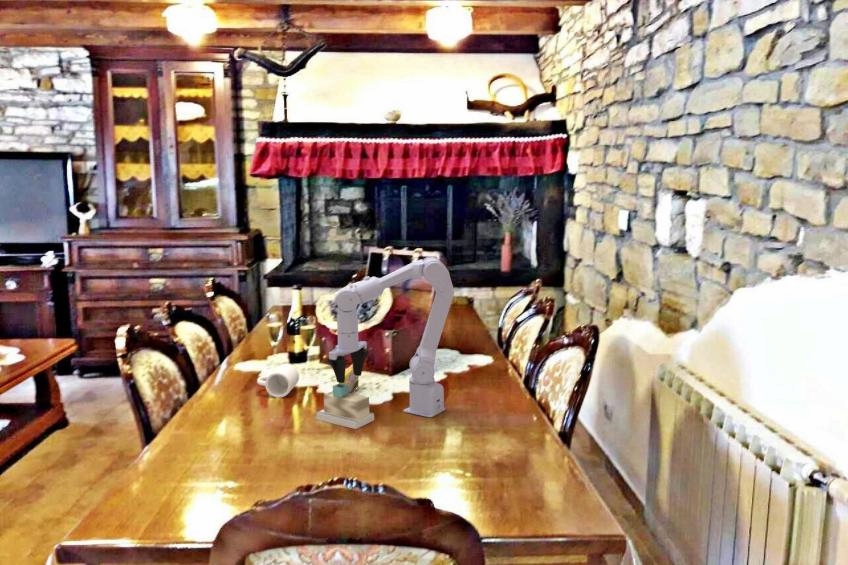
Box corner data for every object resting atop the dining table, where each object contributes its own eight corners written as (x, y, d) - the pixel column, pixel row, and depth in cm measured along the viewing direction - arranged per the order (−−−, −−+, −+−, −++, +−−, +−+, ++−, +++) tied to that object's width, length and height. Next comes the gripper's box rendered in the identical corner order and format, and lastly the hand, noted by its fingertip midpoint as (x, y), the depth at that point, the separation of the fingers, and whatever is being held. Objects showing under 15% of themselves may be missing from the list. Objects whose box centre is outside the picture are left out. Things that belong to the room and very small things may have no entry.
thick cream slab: (369, 414, 195) (369, 397, 195) (358, 420, 191) (357, 402, 190) (336, 406, 202) (335, 390, 201) (324, 412, 198) (323, 394, 197)
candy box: (345, 404, 211) (344, 377, 209) (338, 403, 211) (337, 376, 210) (359, 387, 226) (358, 362, 225) (353, 387, 227) (352, 362, 226)
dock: (374, 420, 197) (373, 413, 196) (355, 429, 190) (355, 421, 190) (335, 411, 204) (335, 404, 204) (316, 419, 198) (316, 412, 198)
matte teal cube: (348, 395, 196) (348, 384, 196) (341, 398, 194) (341, 387, 193) (340, 393, 198) (339, 383, 198) (333, 396, 196) (332, 385, 195)
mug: (299, 388, 226) (298, 363, 225) (291, 398, 217) (289, 372, 215) (263, 387, 228) (261, 363, 226) (252, 397, 218) (251, 372, 217)
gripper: (352, 324, 206) (353, 370, 208) (319, 335, 194) (321, 383, 196) (372, 327, 202) (373, 373, 205) (339, 338, 190) (341, 387, 193)
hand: (349, 378), depth 200 cm, fingers open, 7 cm apart
